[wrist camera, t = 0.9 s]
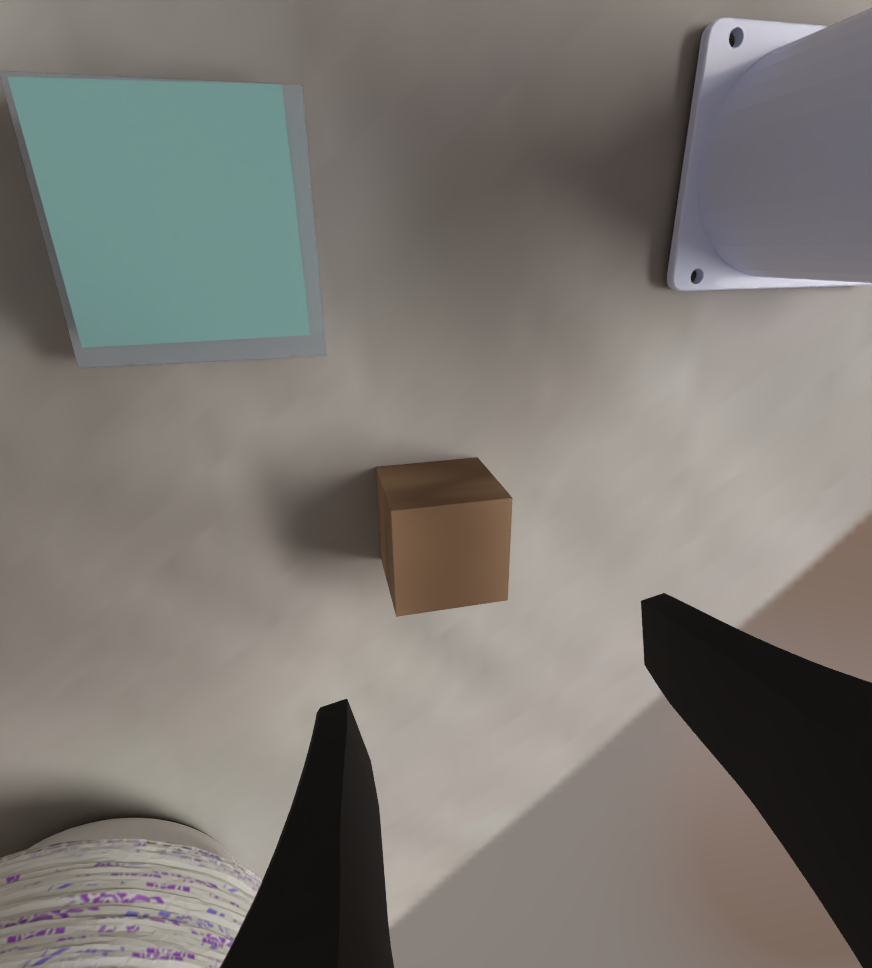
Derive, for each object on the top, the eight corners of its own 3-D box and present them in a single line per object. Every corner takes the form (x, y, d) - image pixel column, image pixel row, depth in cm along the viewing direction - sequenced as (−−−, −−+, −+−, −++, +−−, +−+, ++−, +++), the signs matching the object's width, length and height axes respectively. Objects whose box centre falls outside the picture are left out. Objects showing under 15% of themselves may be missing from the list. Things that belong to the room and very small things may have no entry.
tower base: (302, 105, 16) (302, 85, 14) (323, 345, 19) (326, 355, 17) (38, 94, 15) (-2, 70, 13) (103, 355, 18) (78, 368, 16)
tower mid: (285, 108, 14) (281, 84, 12) (309, 324, 17) (309, 335, 14) (53, 104, 13) (7, 76, 11) (112, 335, 16) (82, 347, 13)
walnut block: (476, 457, 21) (512, 497, 18) (475, 545, 23) (507, 600, 19) (375, 466, 21) (391, 510, 17) (380, 557, 22) (396, 616, 19)
